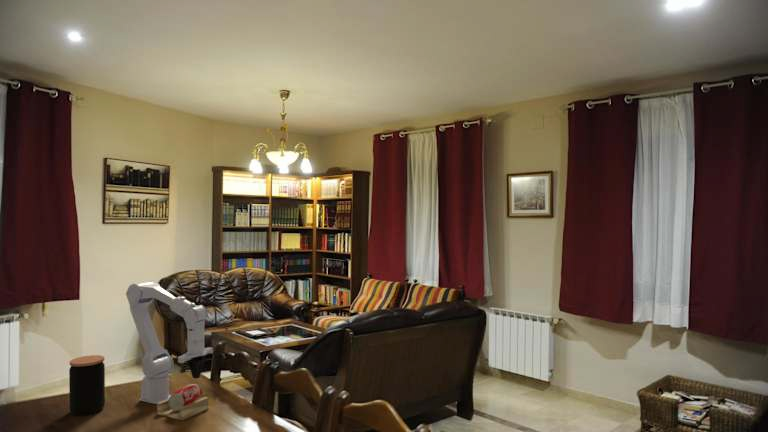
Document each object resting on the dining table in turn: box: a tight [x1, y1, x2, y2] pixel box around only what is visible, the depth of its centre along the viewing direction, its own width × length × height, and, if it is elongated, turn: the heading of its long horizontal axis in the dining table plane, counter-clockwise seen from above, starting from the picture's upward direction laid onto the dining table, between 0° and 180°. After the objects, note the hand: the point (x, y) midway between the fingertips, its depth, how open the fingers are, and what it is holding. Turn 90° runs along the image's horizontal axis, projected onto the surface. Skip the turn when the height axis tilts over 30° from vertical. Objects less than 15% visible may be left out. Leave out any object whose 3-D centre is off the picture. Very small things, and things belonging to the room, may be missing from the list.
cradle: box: [156, 396, 209, 421], centre depth 177 cm, size 12×12×4 cm
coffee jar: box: [68, 354, 106, 417], centre depth 178 cm, size 11×11×18 cm
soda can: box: [168, 383, 203, 411], centre depth 179 cm, size 7×7×12 cm
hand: (196, 377), depth 182 cm, fingers closed
